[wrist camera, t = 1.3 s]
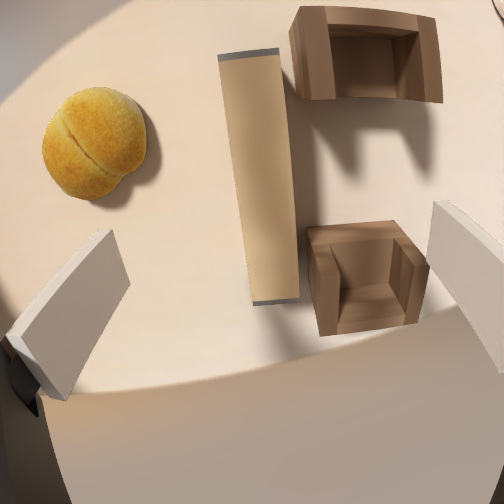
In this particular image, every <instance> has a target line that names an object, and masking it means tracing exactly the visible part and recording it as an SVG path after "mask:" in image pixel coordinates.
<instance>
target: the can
mask: <svg viewBox="0 0 504 504" xmlns="http://www.w3.org/2000/svg"><path fill="white" fill-rule="evenodd" d="M492 1H493V3H494V5H495V7H496V9H497V11H498V12H499V14H500V15H501V17H502V18H503V19H504V0H492Z"/></svg>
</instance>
